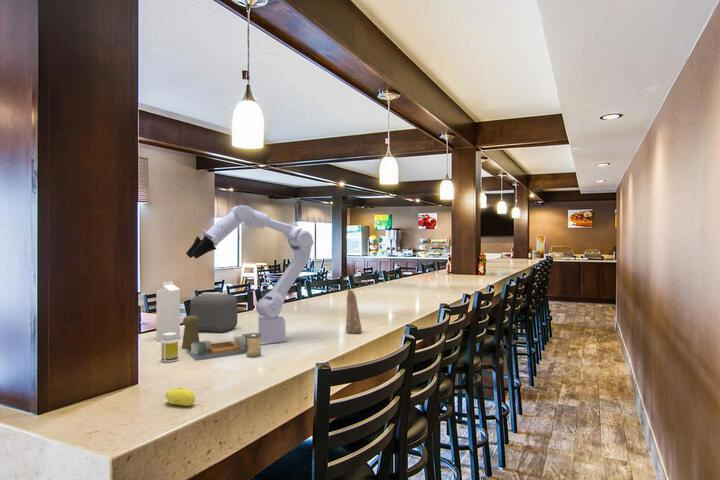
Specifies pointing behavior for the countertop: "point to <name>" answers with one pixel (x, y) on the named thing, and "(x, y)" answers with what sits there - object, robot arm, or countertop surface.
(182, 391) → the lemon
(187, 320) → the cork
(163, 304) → the milk
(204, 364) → the countertop surface
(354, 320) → the brown tapered stone
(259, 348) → the tan and grey cylinder
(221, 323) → the dark grey rounded block
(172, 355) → the supplement bottle
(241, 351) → the bench plate
